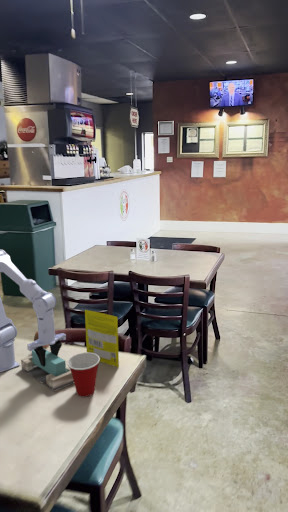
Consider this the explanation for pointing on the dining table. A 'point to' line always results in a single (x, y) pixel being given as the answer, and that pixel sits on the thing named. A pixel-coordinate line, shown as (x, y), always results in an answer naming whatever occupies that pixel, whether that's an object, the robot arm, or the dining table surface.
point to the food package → (102, 336)
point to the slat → (51, 363)
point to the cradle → (47, 375)
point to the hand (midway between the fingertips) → (48, 363)
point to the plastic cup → (84, 372)
